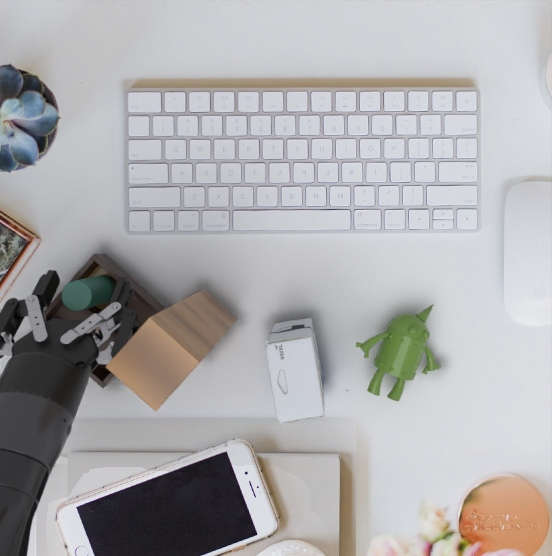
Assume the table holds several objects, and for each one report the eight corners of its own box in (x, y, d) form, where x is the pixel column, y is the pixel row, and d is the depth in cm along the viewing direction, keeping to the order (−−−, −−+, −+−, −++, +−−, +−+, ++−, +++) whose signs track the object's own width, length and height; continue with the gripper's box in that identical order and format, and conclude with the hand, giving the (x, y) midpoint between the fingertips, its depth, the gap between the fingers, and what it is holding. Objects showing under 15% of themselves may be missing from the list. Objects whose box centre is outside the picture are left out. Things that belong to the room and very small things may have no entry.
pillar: (207, 353, 68) (155, 412, 46) (173, 322, 68) (104, 367, 46) (237, 319, 68) (200, 362, 46) (203, 288, 68) (149, 316, 46)
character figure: (351, 395, 61) (389, 290, 61) (332, 377, 66) (367, 280, 65) (436, 414, 66) (472, 317, 65) (412, 396, 70) (445, 305, 70)
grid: (112, 381, 69) (102, 388, 65) (43, 320, 68) (30, 325, 65) (172, 313, 68) (165, 318, 65) (104, 252, 68) (93, 253, 65)
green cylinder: (106, 307, 67) (77, 317, 59) (85, 289, 67) (54, 297, 59) (123, 287, 67) (97, 294, 59) (103, 269, 67) (74, 274, 59)
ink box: (325, 386, 68) (326, 418, 56) (284, 392, 68) (277, 426, 57) (313, 316, 68) (312, 334, 56) (272, 322, 68) (263, 342, 56)
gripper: (99, 402, 49) (149, 260, 60) (-66, 388, 49) (14, 249, 60) (116, 440, 54) (159, 304, 66) (-33, 427, 55) (36, 293, 66)
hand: (89, 278), depth 63 cm, fingers open, 7 cm apart
